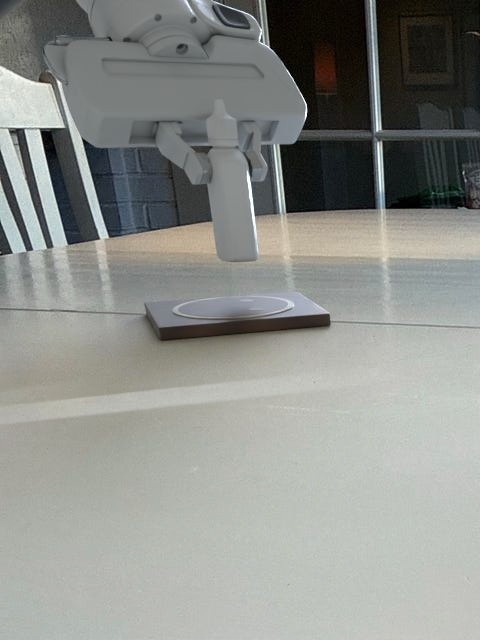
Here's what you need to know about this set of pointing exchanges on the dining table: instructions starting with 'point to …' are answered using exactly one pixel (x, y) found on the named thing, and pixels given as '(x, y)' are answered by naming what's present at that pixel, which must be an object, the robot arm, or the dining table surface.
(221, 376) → the dining table surface
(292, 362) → the dining table surface
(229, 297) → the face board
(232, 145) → the eye dropper bottle
